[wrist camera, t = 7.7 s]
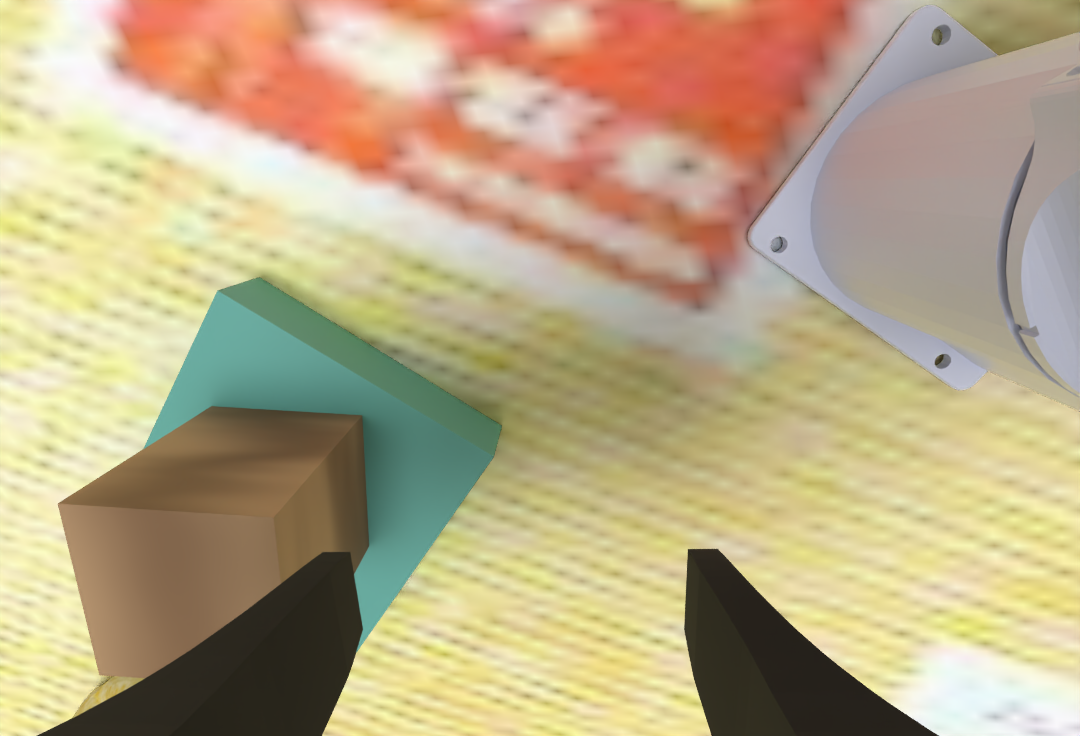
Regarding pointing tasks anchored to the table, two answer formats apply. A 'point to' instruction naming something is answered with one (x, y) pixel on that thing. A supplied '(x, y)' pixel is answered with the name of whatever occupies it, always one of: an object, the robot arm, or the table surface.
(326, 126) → the table surface
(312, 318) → the teal base
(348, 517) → the walnut block
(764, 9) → the table surface
